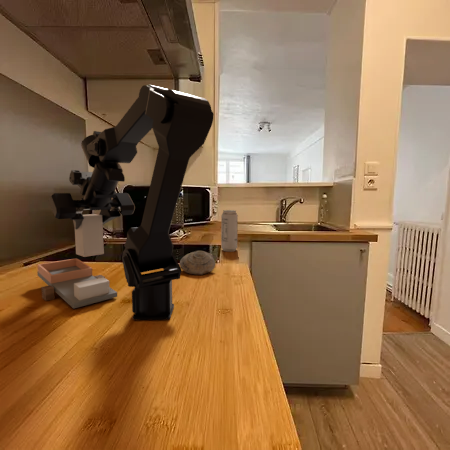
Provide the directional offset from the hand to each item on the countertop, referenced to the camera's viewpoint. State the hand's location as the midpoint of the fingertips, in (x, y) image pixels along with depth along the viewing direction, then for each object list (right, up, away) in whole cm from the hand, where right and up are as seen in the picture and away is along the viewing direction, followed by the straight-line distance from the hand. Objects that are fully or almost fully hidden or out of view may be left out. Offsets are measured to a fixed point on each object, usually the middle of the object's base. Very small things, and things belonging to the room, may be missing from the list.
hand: (86, 227), depth 78 cm
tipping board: (+2, -13, -11) cm, 17 cm away
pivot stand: (+2, -14, -10) cm, 18 cm away
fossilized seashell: (+28, -13, +9) cm, 32 cm away
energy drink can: (+37, -9, +37) cm, 53 cm away
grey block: (+1, -7, 0) cm, 7 cm away
